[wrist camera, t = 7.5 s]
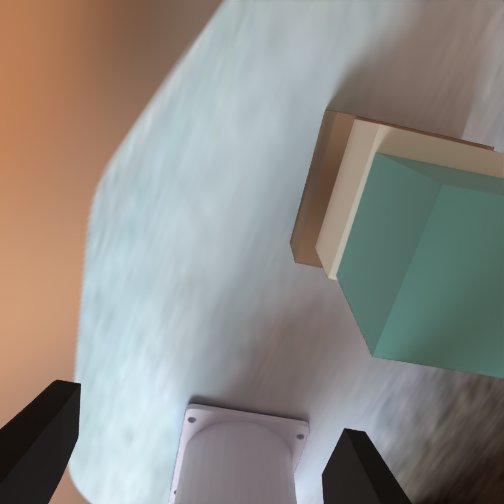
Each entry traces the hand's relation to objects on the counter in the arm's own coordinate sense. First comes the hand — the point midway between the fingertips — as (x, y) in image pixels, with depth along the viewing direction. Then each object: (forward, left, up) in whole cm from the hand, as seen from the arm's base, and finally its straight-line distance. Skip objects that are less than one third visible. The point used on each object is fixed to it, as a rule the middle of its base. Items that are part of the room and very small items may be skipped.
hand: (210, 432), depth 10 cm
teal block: (+6, -6, -5) cm, 9 cm away
